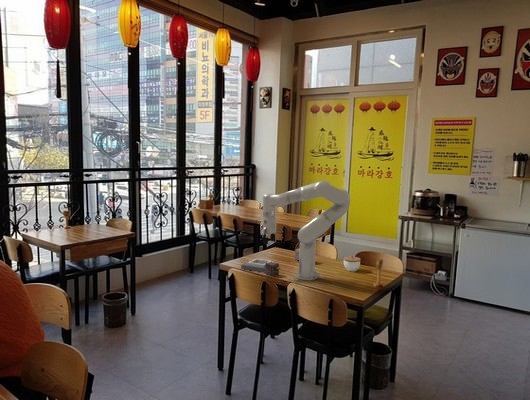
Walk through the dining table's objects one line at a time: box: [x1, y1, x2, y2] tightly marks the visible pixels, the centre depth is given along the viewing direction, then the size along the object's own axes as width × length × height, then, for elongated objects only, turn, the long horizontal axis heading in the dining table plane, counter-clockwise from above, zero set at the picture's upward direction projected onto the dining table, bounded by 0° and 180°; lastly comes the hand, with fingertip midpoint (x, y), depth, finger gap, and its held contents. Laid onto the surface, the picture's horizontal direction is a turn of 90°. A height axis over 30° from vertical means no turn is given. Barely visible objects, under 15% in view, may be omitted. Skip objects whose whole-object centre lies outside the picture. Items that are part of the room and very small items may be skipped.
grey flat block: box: [240, 258, 273, 274], centre depth 258 cm, size 18×16×4 cm
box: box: [264, 261, 280, 277], centre depth 244 cm, size 6×6×7 cm
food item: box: [294, 247, 300, 261], centre depth 278 cm, size 14×8×10 cm, turn 44°
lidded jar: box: [343, 255, 362, 272], centre depth 259 cm, size 11×11×9 cm
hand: (269, 242), depth 244 cm, fingers open, 9 cm apart
